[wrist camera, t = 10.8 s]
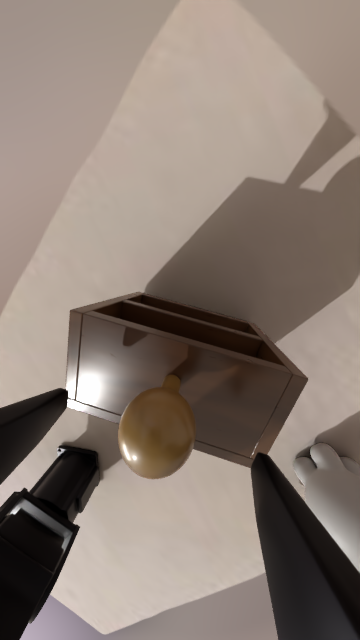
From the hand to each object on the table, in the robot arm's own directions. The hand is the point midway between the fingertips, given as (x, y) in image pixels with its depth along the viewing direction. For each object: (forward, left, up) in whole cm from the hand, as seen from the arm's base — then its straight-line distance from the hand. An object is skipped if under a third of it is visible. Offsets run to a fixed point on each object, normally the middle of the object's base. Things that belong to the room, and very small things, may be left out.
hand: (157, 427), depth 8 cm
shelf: (-1, -3, -5) cm, 6 cm away
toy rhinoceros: (+17, -17, -13) cm, 27 cm away
